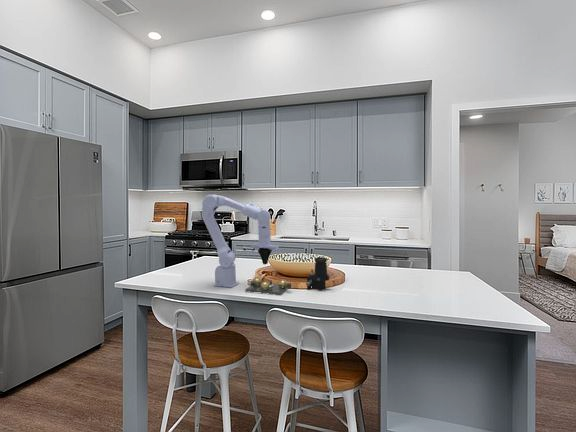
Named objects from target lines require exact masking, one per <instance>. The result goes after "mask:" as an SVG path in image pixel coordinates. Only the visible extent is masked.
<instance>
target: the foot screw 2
mask: <svg viewBox="0 0 576 432" xmlns="http://www.w3.org/2000/svg"><path fill="white" fill-rule="evenodd" d="M278 284H279V287H281V288H285V287H287V288H289V289H291V288H292V282H288V281H287V279H281V280H278Z"/></svg>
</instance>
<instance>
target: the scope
mask: <svg viewBox="0 0 576 432" xmlns="http://www.w3.org/2000/svg"><path fill="white" fill-rule="evenodd" d="M327 259H328V258H326V257H321V256H320V257H316V258H314V269H310V270H311V271H310V274H309V275H308V276H307V277H306V283H305V285H306V289H307V290H318V291H324V290H326V287H327V286H326V284H327V282H326V281H330V279H331V278H330V276H329V275H328V267H327V266H328V265H327V261H328V260H327ZM311 286H312V288H313V289H311Z"/></svg>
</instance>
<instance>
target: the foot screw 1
mask: <svg viewBox="0 0 576 432" xmlns="http://www.w3.org/2000/svg"><path fill="white" fill-rule="evenodd" d="M261 283H262V278H260V277H253V279H252V281H251V280H250V286H255V285H260V284H261Z"/></svg>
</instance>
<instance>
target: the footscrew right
mask: <svg viewBox="0 0 576 432" xmlns="http://www.w3.org/2000/svg"><path fill="white" fill-rule="evenodd" d="M272 284H273V280H272V279H267V281H261V289H263V290H267V289H269V285H272Z"/></svg>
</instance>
